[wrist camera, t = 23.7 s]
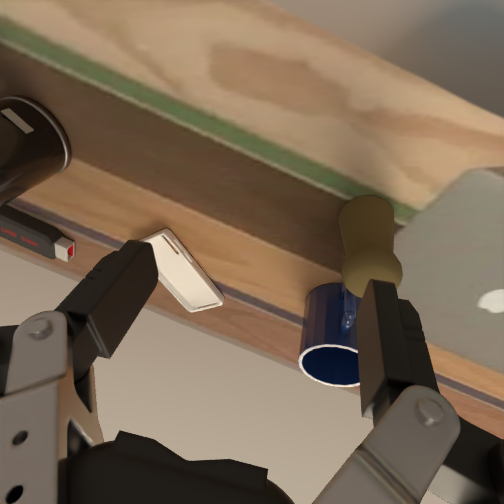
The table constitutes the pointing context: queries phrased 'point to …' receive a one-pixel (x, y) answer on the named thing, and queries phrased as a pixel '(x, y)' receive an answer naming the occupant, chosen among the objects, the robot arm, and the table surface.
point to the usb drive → (34, 234)
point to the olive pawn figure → (368, 243)
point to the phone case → (182, 273)
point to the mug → (330, 336)
